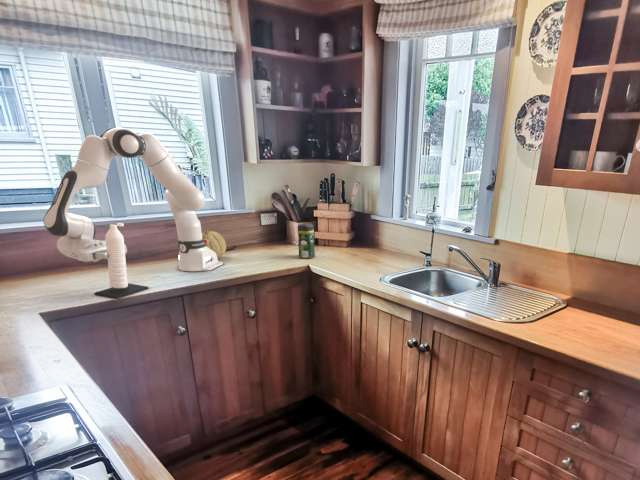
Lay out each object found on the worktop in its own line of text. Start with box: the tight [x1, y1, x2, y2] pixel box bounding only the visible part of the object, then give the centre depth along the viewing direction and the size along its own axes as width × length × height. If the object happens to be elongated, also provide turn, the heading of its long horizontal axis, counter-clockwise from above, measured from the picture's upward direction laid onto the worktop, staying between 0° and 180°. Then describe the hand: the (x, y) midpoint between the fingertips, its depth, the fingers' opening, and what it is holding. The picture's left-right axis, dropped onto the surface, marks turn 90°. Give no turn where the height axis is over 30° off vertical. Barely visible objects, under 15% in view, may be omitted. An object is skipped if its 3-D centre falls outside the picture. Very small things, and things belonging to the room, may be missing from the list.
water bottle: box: [104, 222, 129, 288], centre depth 188 cm, size 9×6×25 cm
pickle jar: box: [297, 222, 316, 260], centre depth 257 cm, size 10×8×19 cm
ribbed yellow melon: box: [202, 230, 227, 259], centre depth 247 cm, size 15×15×15 cm
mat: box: [94, 282, 149, 299], centre depth 194 cm, size 16×12×1 cm
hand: (116, 254), depth 187 cm, fingers closed on water bottle, 6 cm apart
